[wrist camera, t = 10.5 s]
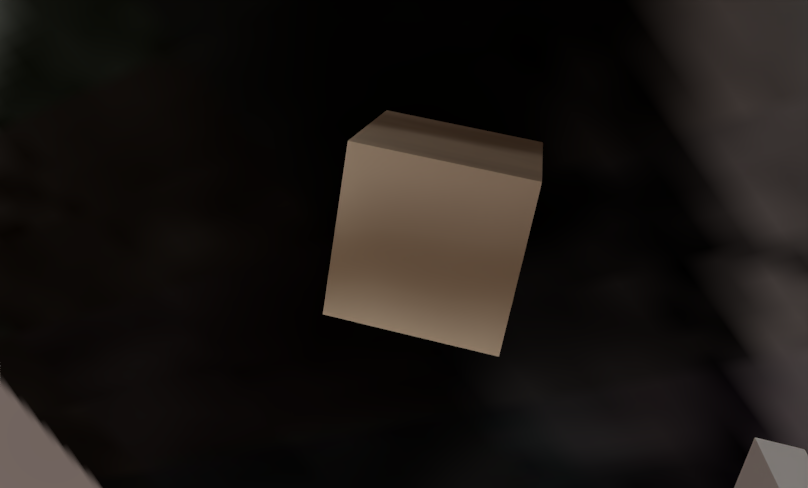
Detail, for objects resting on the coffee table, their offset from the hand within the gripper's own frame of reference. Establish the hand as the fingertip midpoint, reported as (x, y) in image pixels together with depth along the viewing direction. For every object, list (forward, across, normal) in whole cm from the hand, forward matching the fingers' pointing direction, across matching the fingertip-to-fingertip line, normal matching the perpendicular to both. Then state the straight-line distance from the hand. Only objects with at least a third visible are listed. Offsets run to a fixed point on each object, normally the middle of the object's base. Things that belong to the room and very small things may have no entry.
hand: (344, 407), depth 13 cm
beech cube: (+12, 0, 0) cm, 12 cm away
